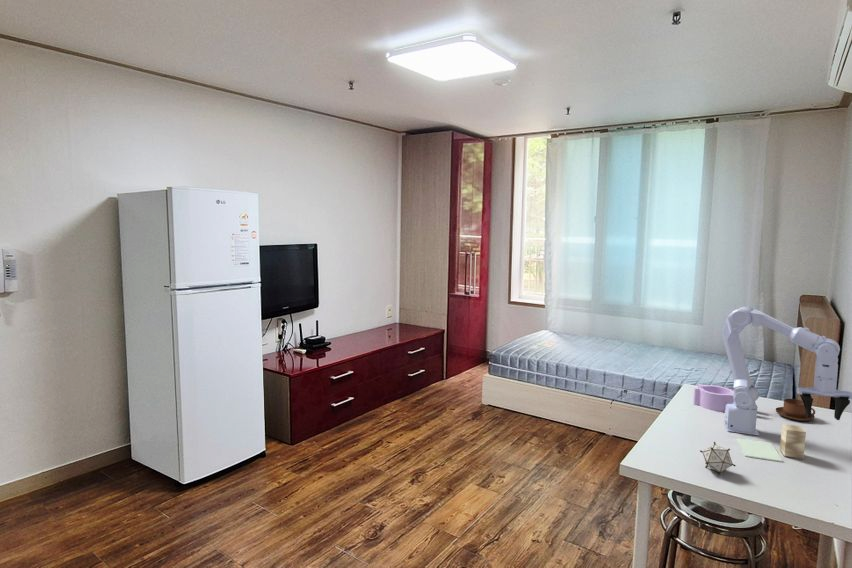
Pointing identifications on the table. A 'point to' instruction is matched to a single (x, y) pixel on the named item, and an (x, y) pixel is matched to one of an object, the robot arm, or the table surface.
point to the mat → (758, 450)
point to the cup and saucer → (794, 410)
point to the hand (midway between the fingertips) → (822, 417)
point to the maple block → (792, 441)
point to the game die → (717, 458)
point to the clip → (713, 397)
